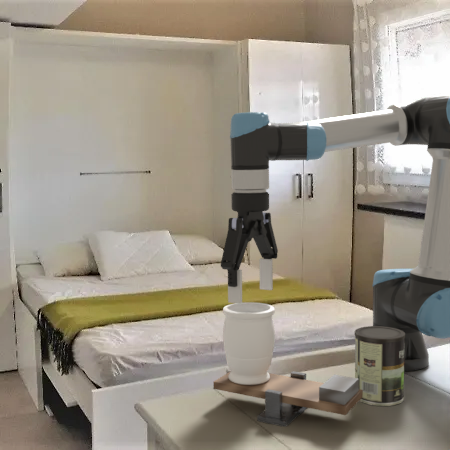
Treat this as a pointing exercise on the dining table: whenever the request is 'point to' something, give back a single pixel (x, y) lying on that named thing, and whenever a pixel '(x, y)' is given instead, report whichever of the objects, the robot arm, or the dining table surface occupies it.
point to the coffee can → (380, 364)
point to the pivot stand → (280, 407)
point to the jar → (249, 341)
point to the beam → (303, 391)
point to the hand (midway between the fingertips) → (251, 295)
